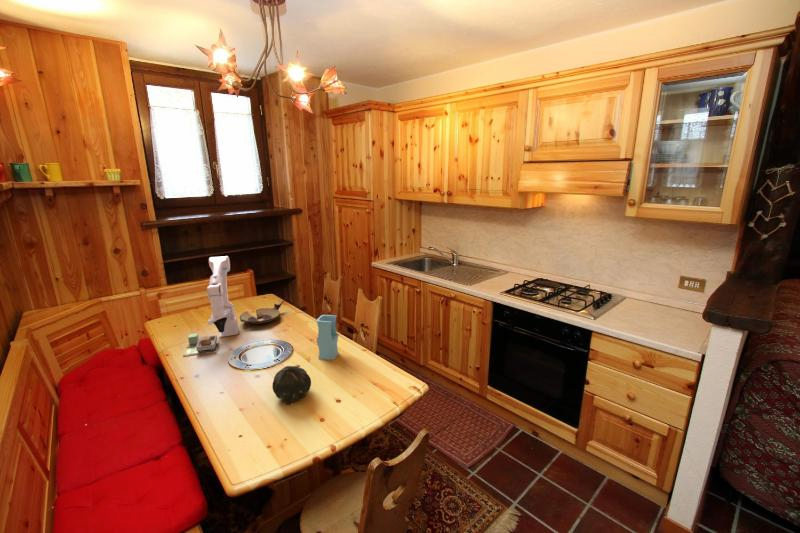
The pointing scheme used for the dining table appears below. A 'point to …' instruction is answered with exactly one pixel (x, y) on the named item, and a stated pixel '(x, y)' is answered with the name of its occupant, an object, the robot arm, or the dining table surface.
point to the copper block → (205, 340)
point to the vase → (327, 337)
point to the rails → (195, 351)
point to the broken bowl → (262, 314)
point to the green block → (193, 339)
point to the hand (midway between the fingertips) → (221, 331)
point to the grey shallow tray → (206, 347)
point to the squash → (291, 384)
